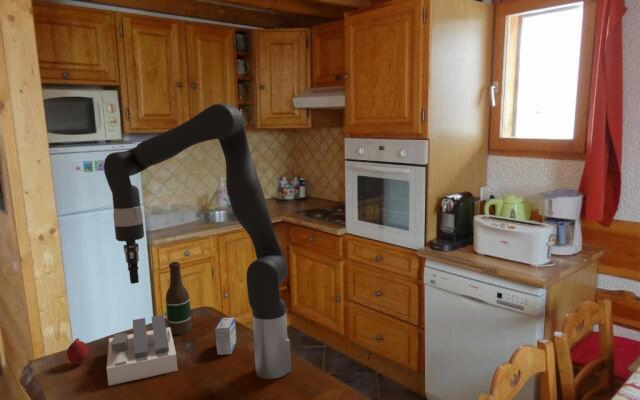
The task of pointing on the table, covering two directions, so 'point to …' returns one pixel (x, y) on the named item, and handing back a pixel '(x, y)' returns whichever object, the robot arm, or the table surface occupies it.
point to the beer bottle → (178, 303)
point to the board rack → (139, 360)
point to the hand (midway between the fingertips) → (134, 280)
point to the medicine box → (225, 336)
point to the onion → (77, 351)
